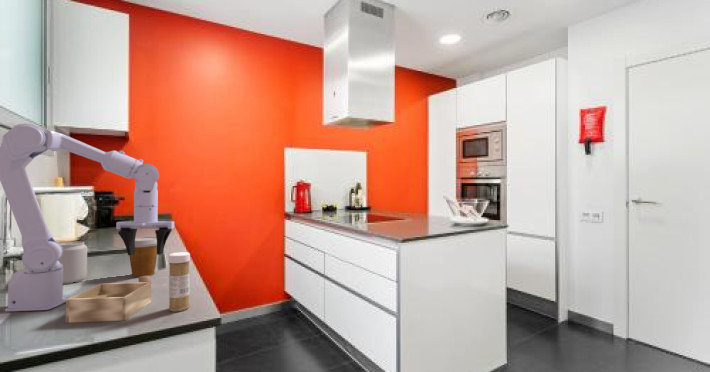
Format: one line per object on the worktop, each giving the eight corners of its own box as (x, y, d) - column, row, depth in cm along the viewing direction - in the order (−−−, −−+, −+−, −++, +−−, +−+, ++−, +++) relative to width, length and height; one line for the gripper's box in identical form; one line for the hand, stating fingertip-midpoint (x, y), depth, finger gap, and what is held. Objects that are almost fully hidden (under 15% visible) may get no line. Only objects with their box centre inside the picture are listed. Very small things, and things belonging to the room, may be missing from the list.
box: (65, 322, 73) (65, 299, 73) (100, 303, 85) (100, 283, 85) (125, 320, 74) (125, 297, 74) (151, 301, 86) (151, 282, 86)
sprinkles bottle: (186, 304, 85) (186, 250, 85) (192, 309, 81) (192, 253, 81) (165, 308, 81) (166, 253, 81) (171, 314, 78) (172, 256, 78)
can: (68, 285, 99) (68, 245, 99) (48, 284, 101) (48, 244, 101) (93, 278, 107) (93, 241, 107) (74, 277, 108) (74, 240, 108)
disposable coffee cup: (141, 270, 117) (141, 236, 117) (166, 271, 116) (166, 237, 116) (118, 277, 108) (119, 240, 108) (145, 279, 107) (145, 241, 107)
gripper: (109, 207, 90) (109, 257, 90) (167, 207, 92) (166, 256, 92) (124, 205, 97) (124, 252, 97) (177, 205, 99) (177, 251, 99)
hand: (145, 254), depth 95 cm, fingers open, 7 cm apart
